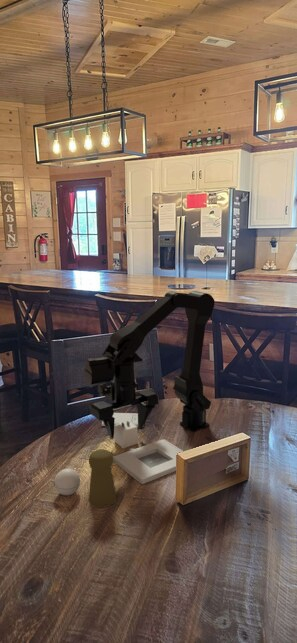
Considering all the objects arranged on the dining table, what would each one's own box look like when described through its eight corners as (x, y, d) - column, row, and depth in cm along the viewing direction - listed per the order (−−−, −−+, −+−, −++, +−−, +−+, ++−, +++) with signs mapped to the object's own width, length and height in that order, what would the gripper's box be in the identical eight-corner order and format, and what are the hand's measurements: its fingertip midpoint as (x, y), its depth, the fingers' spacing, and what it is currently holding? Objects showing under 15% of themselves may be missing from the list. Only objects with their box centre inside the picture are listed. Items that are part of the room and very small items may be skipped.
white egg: (63, 484, 103) (62, 461, 102) (85, 488, 101) (84, 466, 100) (44, 503, 96) (42, 479, 95) (67, 508, 94) (66, 484, 93)
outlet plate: (163, 443, 122) (163, 439, 121) (195, 462, 111) (195, 458, 111) (113, 461, 113) (112, 456, 112) (141, 484, 102) (141, 479, 102)
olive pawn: (121, 494, 99) (119, 448, 96) (107, 510, 93) (105, 462, 91) (97, 488, 101) (95, 443, 99) (83, 503, 96) (80, 456, 93)
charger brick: (128, 437, 126) (128, 417, 124) (137, 443, 122) (137, 423, 121) (114, 442, 123) (113, 421, 122) (123, 448, 119) (122, 427, 118)
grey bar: (132, 450, 118) (132, 447, 118) (136, 453, 116) (136, 450, 116) (103, 461, 113) (103, 457, 113) (106, 464, 111) (106, 460, 111)
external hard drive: (106, 416, 141) (146, 417, 140) (101, 428, 133) (143, 429, 132) (106, 412, 140) (145, 412, 139) (101, 423, 132) (143, 423, 131)
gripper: (136, 365, 130) (138, 415, 134) (79, 378, 120) (81, 432, 123) (159, 374, 121) (160, 428, 125) (99, 389, 111) (101, 447, 114)
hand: (126, 433), depth 122 cm, fingers open, 9 cm apart
